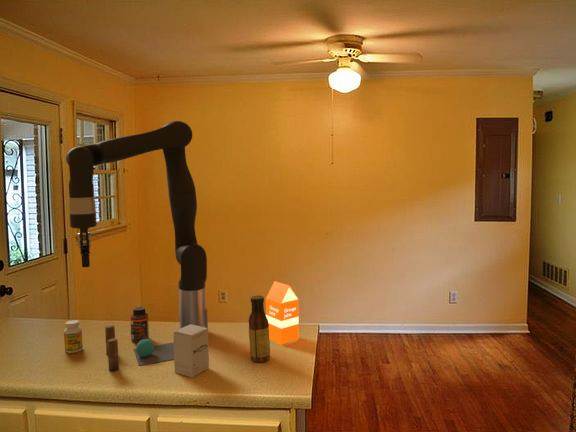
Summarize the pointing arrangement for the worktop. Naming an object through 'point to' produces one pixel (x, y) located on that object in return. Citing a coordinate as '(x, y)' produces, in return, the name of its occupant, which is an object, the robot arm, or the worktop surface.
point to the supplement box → (191, 350)
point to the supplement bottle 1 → (73, 337)
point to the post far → (109, 334)
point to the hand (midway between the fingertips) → (85, 266)
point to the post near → (113, 355)
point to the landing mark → (157, 354)
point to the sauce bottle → (259, 331)
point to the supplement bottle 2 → (139, 324)
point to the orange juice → (282, 313)
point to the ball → (145, 348)
